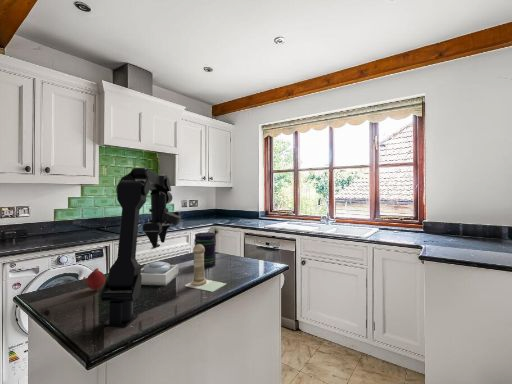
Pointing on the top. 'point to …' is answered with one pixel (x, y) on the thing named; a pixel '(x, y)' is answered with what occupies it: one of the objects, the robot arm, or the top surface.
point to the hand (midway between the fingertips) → (159, 245)
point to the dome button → (157, 268)
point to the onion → (95, 280)
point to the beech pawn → (198, 265)
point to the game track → (208, 286)
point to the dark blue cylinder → (207, 247)
